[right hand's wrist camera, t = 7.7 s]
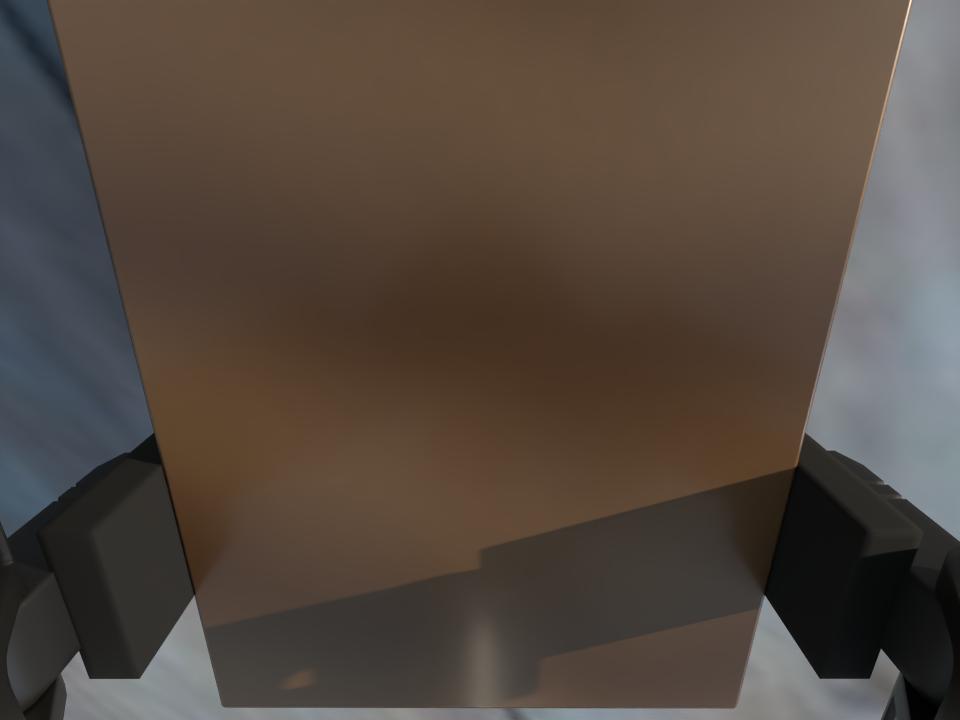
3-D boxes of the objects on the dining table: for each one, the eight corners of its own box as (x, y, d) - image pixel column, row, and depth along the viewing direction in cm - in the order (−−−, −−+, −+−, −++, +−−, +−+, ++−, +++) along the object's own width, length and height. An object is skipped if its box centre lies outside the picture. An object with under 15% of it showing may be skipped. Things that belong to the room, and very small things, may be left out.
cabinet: (296, -99, 15) (-135, -709, 4) (664, -99, 14) (1096, -710, 4) (349, 438, 20) (221, 709, 10) (610, 439, 20) (738, 710, 10)
